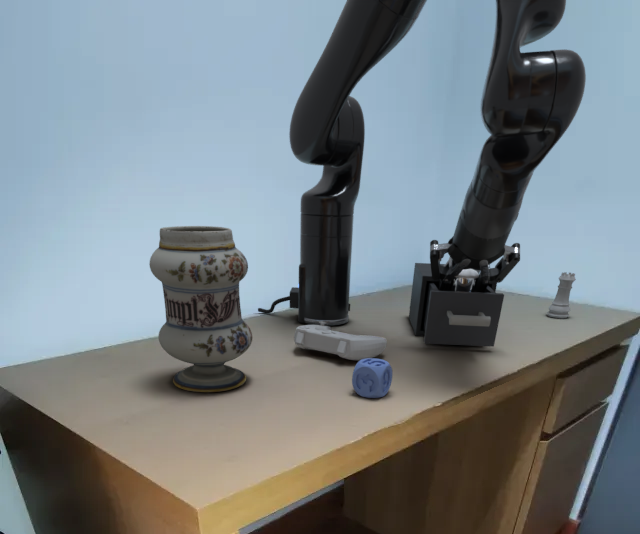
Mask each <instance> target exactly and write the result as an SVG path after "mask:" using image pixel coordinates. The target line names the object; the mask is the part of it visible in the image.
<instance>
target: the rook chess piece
mask: <svg viewBox="0 0 640 534" xmlns="http://www.w3.org/2000/svg"><path fill="white" fill-rule="evenodd" d="M575 276H576V273H573V272H568V273H567V271H566V272H565V271H564V272H561V274H560V276H559V277H558V281H559V284H558V285H557V292H556V294H555V297H554V299H553V301H551V304H550V305H549V306H548V308H547V309H548V311H547V312H546V315H547V316H548V317H549V318H552V319H560V320H561V319H563V320H564V319H567V318H569V316H570V314H569V312H570V311H571V307H570V295H571V291H572V289H573V283H574V282H576V277H575Z"/></svg>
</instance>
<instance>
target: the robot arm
mask: <svg viewBox="0 0 640 534" xmlns="http://www.w3.org/2000/svg"><path fill="white" fill-rule="evenodd" d="M427 2H428V0H346V2H345V3H344V5H343V8H342V10H341V13H340V15H339V17H338V19H337V22H336V24H335V26H334V28H333V30H332V33H331V34H330V37H329V39H328V41H327V43H326V45H325V47H324V50H323V51H322V53H321V55H320V57H319V59H318V61H317V62H316V64H315V66H314V68H313V69H312V72H311V74H310V76H309V77H308V79H307V81H306V83H305V85H304V86H303V88H302V90H301V92H300V94H299V96H298V98H297V100H296V103H295V106H294V108H293V111H292V113H291V118H290V122H289V133H288V135H289V136H288V137H289V138H288V139H289V145H290V149H291V152H292V154H293V156H294V157H295V158H296V159H297V160H298V161H299V162H301V163H303V164H306V165H309V166H321V167H322V173H321V178H320V179H319V181H318V182H317V183H316V184H315V185H314V186H312V187H311V188H310V189H308V190H306V191H305V192H303V193H302V194H301V196H300V205H299V207H300V209H299V210H300V211H299V212H300V215H299V217H300V218H299V220H300V221H299V223H300V224H299V225H300V226H299V227H300V228H299V265H298V284H297V287H295V286H294V287H293V286H292V287H291V289H290V291H289V295H288V296H284V297H281V298H278V299H275V300H274V301H272V303H271V305H270V307H269V309H266V308H262V307H258V308H257V312H259V313H263V314H267V315H268V314H272V313H273V312H274V311H275V308H276V306H277V305H278V304H280V303H284V302H288V301H289V309H298V312H297V313H298V314H297V315H298V316H297V317H298V319H297V320H298V321H297V322H298V324H299V323H300V324H301V323H303V324H306V325H320V323H319V322H325V323H326V324H324V326H328V327H331V326H340V325H344V324H347V323H348V322H349V317H350V316H349V312H351V303H350V292H351V291H350V289H351V270H352V253H353V235H354V234H353V233H354V218H355V217H354V215H355V206H356V203H357V200H358V197H359V193H360V189H361V178H362V169H363V160H364V159H363V158H364V150H365V138H366V137H365V136H366V135H365V134H366V126H365V125H366V124H365V116H364V111H363V109H362V106H361V104H360V102H359V101H358V100H357V99H356V98H355V97H353V96H350V95H351V94H352V92H353V90H354V89H355V88H356V86H357V85H358V84H359V82H360V81H361V80H362V79H363V78H364V77H365V76H366V75H367V74H368V73H369V72H370V71H371V70H372V69H373V68H374V67H375V66H376V65H377V64H378V63H379V62H381V61H382V60H383V59H384V58H386V56H388V55H389V54H390V52H392V51H393V50H394V49H395V48H396V47H397V46H398V45H400V43H401V41H403V40H404V39H405V37H406V36H408V34H409V32H411V29H412V28H413V27H414V25H415V23H416V21H417V20H418V18H419V17H420V15H421V13H422V11H423V9H424V7H425V6H426V3H427ZM566 5H567V0H495V23H494V33H493V40H492V46H491V52H490V58H489V63H488V66H487V71H486V75H485V79H484V84H483V89H482V93H481V98H480V106H479V107H480V111H479V112H480V117H481V122H482V124H483V127H484V129H485V130H486V131H487V132H488V134H490V135H489V136H488V137H487V139H486V140H485V142H484V143H483V145H482V148H481V149H480V153H479V156H478V159H477V163H476V166H475V170H474V171H473V175H472V179H471V182H470V184H469V185H468V188H467V190H466V192H465V195H464V199H463V202H462V207H461V209H460V212H459V215H458V219H457V222H456V227H455V229H454V233H453V236H452V237H451V238H449V239H448V242H446V243H445V242H444V243H439V240H437V239H432V240H430V242H429V260H430V261H429V263H430V264H431V273H432V279H433V280H439V279H440V283H439V291H448V290H449V287H450V284H451V280H452V279H453V278H454V276H456V277H457V276H458V275H459V274H460V272H461V271H462V270H463V269H474V270H480V271H481V273H480V274H479V277H478V281H477V285H476V288H475V292H483V293H485V291H486V288H487V286H488V284H489V283H490V282H491V281H495V282H496V283H497V284H499V283H502V282H503V281H504V280H505V278H506V277H507V276H508V275H509V274H510V272H512V270H513V269H514V268H515V267H516V266H517V265H518V264H519V262H520V261H521V244H520V243H519V242H515V243H514V242H513V244H511V245H506V243H507V241H508V240H509V237H510V235H511V231H512V229H513V227H514V225H515V222H516V221H518V216H519V213H520V210H521V208H522V205H523V200H524V196H525V194H526V191H527V189H528V186H529V185H530V182H531V181H532V180H531V179H532V177H533V175H534V172H535V171H536V169H537V168H538V167H539V166H540V164H541V163H542V162H543V161H544V160H545V158H546V157H547V156H548V154H549V153H550V152H551V151H552V149H554V147H556V144H557V143H558V142H559V141H560V139H561V138H562V137H563V135H564V134H565V133H566V131H567V130H568V129H569V128H570V126H571V124H572V122H573V121H574V118H576V115H577V113H578V110H579V108H580V106H581V104H582V100H583V97H584V94H585V89H586V80H587V77H586V76H587V75H586V67H585V64H584V61H583V58H582V57H581V56H580V54H578V52H576V51H574V50H571V49H551V50H540V51H527V52H521V48H523V47H525V46H527V45H530V44H534V43H535V42H537V41H539V40H541V39H543V38H545V37H546V36H548V35H550V34H551V33H553V31H554V30H555V29H556V28H557V27H558V26H559V25H560V23H561V22H562V19H563V17H564V14H565V10H566ZM445 254H448V255H449V258H448V260H447V261H446V262H445V263H444V264H445V265H444V266H441V265H440V264H441V262H442V259H443V258H444V257H445ZM497 260H499V261H498V262H497V263H496V264H495V265H494V267H491V265H492V264H493V263H495V262H496V261H497Z"/></svg>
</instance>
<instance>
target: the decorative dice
mask: <svg viewBox="0 0 640 534" xmlns="http://www.w3.org/2000/svg"><path fill="white" fill-rule="evenodd" d="M351 377H352V378H351V385H352V388H353V390H354V392H355V393H356V394H357V395H358V396H360V397H363V398H367V399H368V398H369V399H378V398H383V397H385V396H386V395H387V394H388V392H389V390H390V388H391V385H392V382H393V368H392V366H391V364H390V363H389V362H388V361H387V360H385V359H382V358H375V357H373V358H366V359H362V360H358V361H357V362H356V364H355V366H354V369H353V372H352V376H351Z"/></svg>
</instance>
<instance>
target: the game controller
mask: <svg viewBox="0 0 640 534" xmlns="http://www.w3.org/2000/svg"><path fill="white" fill-rule="evenodd" d="M319 323H320V325H313V324H305V325H298V326H297V327H296V328H295V332H294V336H293V341H294V344H295V345H296V346H297V347H298V348H300V349H303V350H306V351H307V350H308V351H310V350H311V351H318V352H324V353H328V354H333V355H337V356H339V357H340V358H342V359H346V360H350V361H360V360H362V359H366V358H375V357H378V356H379V355H381V353H383V351H385V349H386V347H387V343H388V341H387V338H385V337H382V336H377V335H370V334H362V335H361V334H352V333H346V332H341V331H338V330H337V331H336V330H332V327H331V326H324V324H326V323H325V322H319Z"/></svg>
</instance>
